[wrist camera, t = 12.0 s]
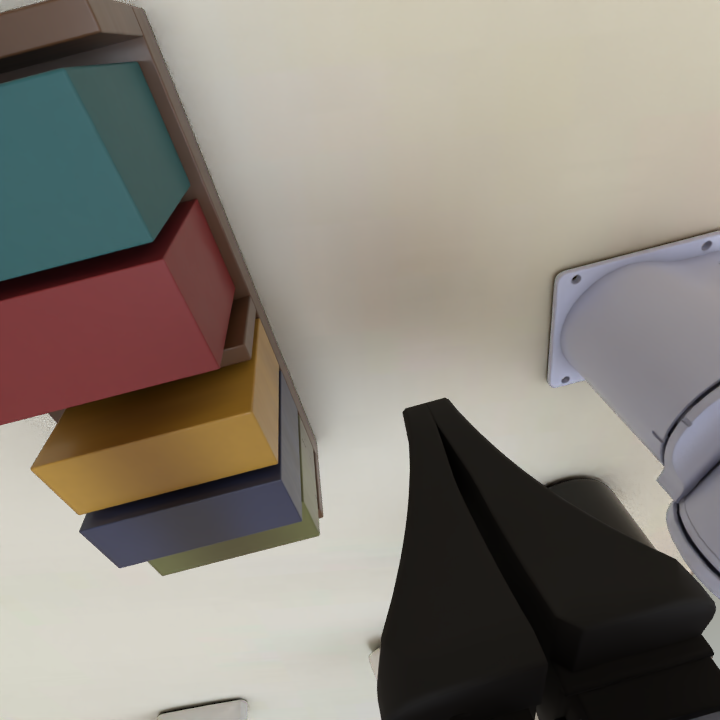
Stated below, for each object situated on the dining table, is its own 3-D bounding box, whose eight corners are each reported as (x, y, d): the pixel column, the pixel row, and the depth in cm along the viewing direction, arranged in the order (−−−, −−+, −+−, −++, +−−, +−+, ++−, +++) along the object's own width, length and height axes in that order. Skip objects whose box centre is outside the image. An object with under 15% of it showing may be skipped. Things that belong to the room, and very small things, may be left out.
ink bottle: (490, 506, 35) (571, 682, 25) (595, 456, 33) (725, 625, 23) (528, 553, 40) (606, 713, 30) (619, 512, 38) (733, 669, 29)
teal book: (138, 60, 14) (63, 67, 9) (191, 185, 16) (154, 242, 12) (-100, 122, 14) (-298, 160, 9) (-12, 238, 16) (-133, 316, 12)
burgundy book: (197, 198, 17) (163, 258, 12) (235, 288, 19) (220, 369, 14) (-3, 249, 17) (-117, 330, 12) (61, 333, 19) (-13, 429, 14)
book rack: (143, 8, 14) (19, -29, 8) (316, 442, 28) (328, 572, 21) (-130, 79, 14) (-496, 108, 8) (173, 479, 28) (138, 621, 21)
